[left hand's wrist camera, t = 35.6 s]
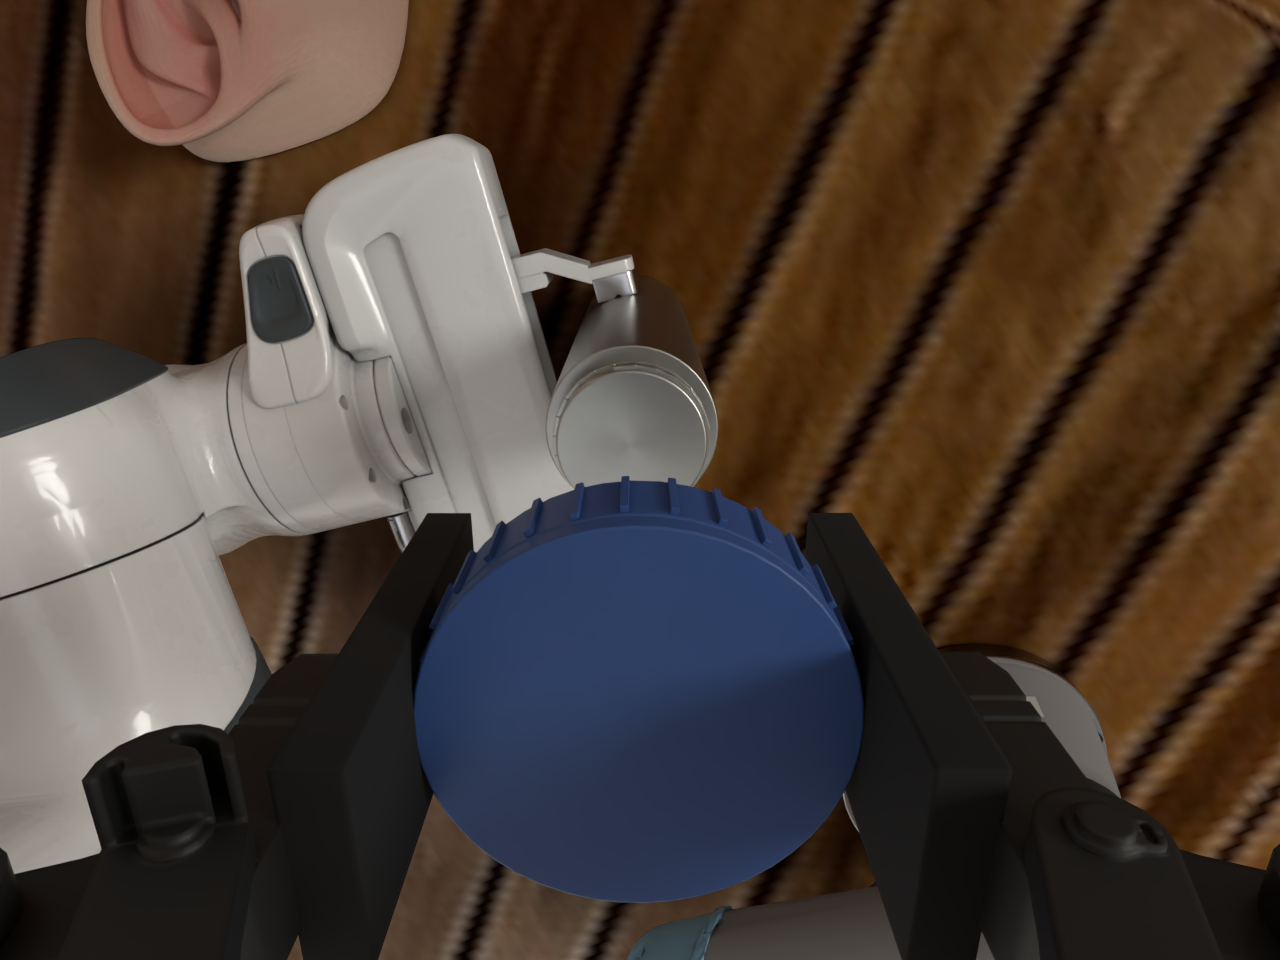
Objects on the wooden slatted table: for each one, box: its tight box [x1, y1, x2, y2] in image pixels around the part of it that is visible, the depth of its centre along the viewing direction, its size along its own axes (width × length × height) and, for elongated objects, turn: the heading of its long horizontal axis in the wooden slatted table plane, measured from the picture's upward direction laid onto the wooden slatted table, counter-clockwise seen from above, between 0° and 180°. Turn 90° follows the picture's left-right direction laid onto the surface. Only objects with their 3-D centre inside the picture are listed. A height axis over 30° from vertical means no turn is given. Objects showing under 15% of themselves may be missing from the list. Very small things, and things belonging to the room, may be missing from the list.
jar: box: [545, 276, 718, 490], centre depth 32 cm, size 5×5×19 cm
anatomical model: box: [86, 0, 409, 162], centre depth 34 cm, size 13×4×12 cm
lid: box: [413, 476, 864, 903], centre depth 11 cm, size 6×6×2 cm
